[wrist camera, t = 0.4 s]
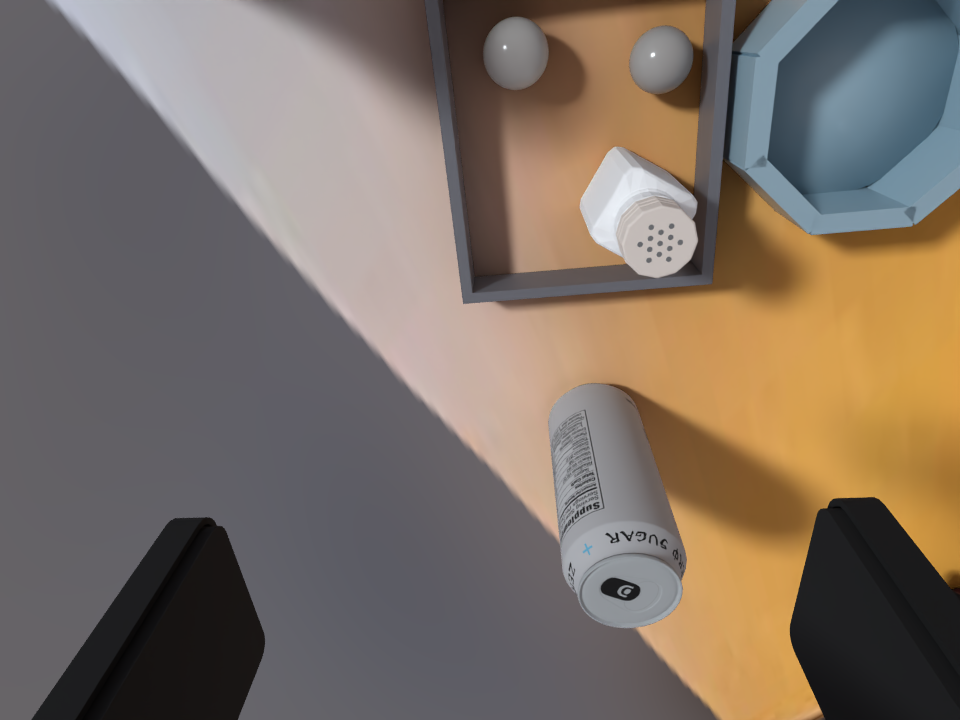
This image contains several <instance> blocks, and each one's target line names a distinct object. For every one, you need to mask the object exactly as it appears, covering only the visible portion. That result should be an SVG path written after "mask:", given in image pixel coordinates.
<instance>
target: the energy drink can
mask: <svg viewBox="0 0 960 720" xmlns="http://www.w3.org/2000/svg"><path fill="white" fill-rule="evenodd" d="M548 424H549V436H550V446H551V456H552V466H553V477H554V487H555V497H556V507H557V517H558V527H559V538H560V548H561V558H562V567H563V574H564V577H565V580H566V582H567V583H568V584H569V586H570V588H571V589H572V590H573V591H574V592H575V593H576V594H577V595H578V599H579V602H580V605H581V607H582V608H583V610H584V611H585V612H586V613H587V614H588V615H589V616H590V617H591V618H593V619H594V620H596V621H597V622H600V623H602V624H605V625H608V626H612V627H619V628H636V627H642V626H646V625H650V624H653V623H655V622H657V621H660V620H662V619H663V618H665V617H666V616H668V615H669V614H670V613H671V612H672V611H673V610H674V609H675V608H676V607H677V605H678V604H679V602H680V599H681V597H682V590H683V587H682V583H681V580H682V577H683V575H684V572H685V569H686V561H687V558H686V553H685V549H684V546H683V543H682V540H681V537H680V534H679V531H678V528H677V525H676V522H675V519H674V516H673V513H672V510H671V507H670V504H669V501H668V498H667V495H666V492H665V489H664V486H663V483H662V480H661V477H660V474H659V471H658V468H657V465H656V462H655V459H654V456H653V453H652V450H651V447H650V444H649V441H648V438H647V435H646V432H645V429H644V426H643V423H642V420H641V417H640V414H639V411H638V408H637V406H636V404H635V402H634V401H633V400H632V399H631V397H630V396H629V395H628V394H626V393H625V392H624V391H622V390H620V389H618V388H616V387H613V386H610V385H606V384H597V383H591V384H584V385H580V386H578V387H575V388H573V389H572V390H570V391H568V392H567V393H565V394H564V395H563V396H562V397H560V398H559V399H558V400H557V402H556V403H555V404H554V406H553V407H552V410H551V412H550V415H549V421H548Z"/></svg>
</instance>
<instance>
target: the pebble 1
mask: <svg viewBox="0 0 960 720" xmlns="http://www.w3.org/2000/svg"><path fill="white" fill-rule="evenodd" d="M548 57H549V48H548V42H547V39H546V36H545V34H544V33H543V31H542V30H541V28H540V27H539V26H538V25H537V24H536V23H534V22H533V21H531V20H529V19H527V18H524V17H510V18H507V19H504V20H502V21H500V22H499V23H498V24H496V25H495V26H494V27H493V28H492V30H491V31H490V33H489V34H488V36H487V38H486V41H485V44H484V49H483V59H484V64H485V68H486V70H487V72H488V74H489V76H490V77H491V78H492V80H493V81H494V82H495V83H497V84H498V85H499V86H501V87H503V88H506V89H509V90H521V89H524V88H527V87H529V86H531V85H533V84H534V83H535V82H536V81H537V80H538V79H539V78H540V77H541V76H542V74H543V72H544V71H545V68H546V66H547V62H548Z"/></svg>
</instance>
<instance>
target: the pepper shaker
mask: <svg viewBox="0 0 960 720" xmlns="http://www.w3.org/2000/svg"><path fill="white" fill-rule="evenodd" d="M696 209H697V200H696V199H695V197H694V196H693V195H692V194H691V193H690V192H689V191H688V190H687V189H686V188H685V187H684V186H683V185H682V184H680V183H679V182H678V181H677V180H676V179H675V178H674V177H673V176H672V175H671V174H670V173H669V172H667V171H666V170H664V169H662V168H660V167H658V166H657V165H655V164H653V163H651V162H649V161H647V160H646V159H644V158H642V157H640V156H638V155H636V154H635V153H633V152H631V151H629V150H627V149H625V148H624V147H614V148H612V149H611V150H610V151H609V152H608V153H607V154H606V156H605V158H604V160H603V161H602V163H601V165H600V167H599V168H598V170H597V172H596V174H595V175H594V177H593V179H592V181H591V182H590V184H589V186H588V188H587V189H586V191H585V193H584V195H583V196H582V198H581V201H580V210H581V212H582V215H583V217H584V220H585V222H586V225H587V228H588V230H589V233H590V235H591V236H592V238H593V239H594V240H595V242H596V243H597V244H599V245H601V246H603V247H604V248H606V249H608V250H610V251H612V252H614V253H615V254H617V255H619V256H621V257H623V258H624V260H625V262H626V263H627V264H628V265H629V266H630V267H631V268H632V269H633V270H634V271H635V272H636V273H638V274H639V275H643V276H648V277H653V278H660V277H663V276H667V275H670V274H674V273H676V272H677V271H679V270H680V269H681V268H682V267H683V266H684V265H685V264H686V263H688V262H689V261H690V260H691V258H692V256H693V253H694V251H695V248H696V245H697V243H698V237H697V231H696V225H695V222H694V221H693V220H692V219H693V217H694V216H695V214H696Z"/></svg>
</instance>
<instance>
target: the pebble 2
mask: <svg viewBox="0 0 960 720" xmlns="http://www.w3.org/2000/svg"><path fill="white" fill-rule="evenodd" d="M692 63H693V48H692V44H691V42H690V40H689V38H688V37H687V35H686V34H685V33H684V32H683V31H681V30H680V29H678V28H676V27H673V26H667V25H665V26H658V27H655V28H652V29H650V30H648V31H647V32H645V33H644V34H643V35H642V36H641V37H640V38H639V39H638V40H637V42H636V43H635V45H634V46H633V49H632V51H631V54H630V59H629V69H630V74H631V77H632V79H633V81H634V82H635V84H636V85H637V86H638V87H639V88H640V89H642V90H643V91H645V92H648V93H651V94H663V93H667V92H670V91H672V90H674V89H675V88H677V87H678V86H679V85H680V84H681V83H682V82H683V81H684V80H685V79H686V77H687V76H688V74H689V72H690V70H691V67H692Z"/></svg>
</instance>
